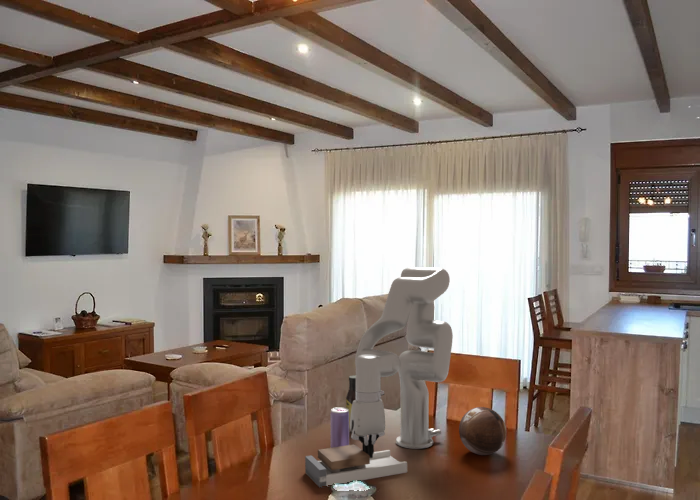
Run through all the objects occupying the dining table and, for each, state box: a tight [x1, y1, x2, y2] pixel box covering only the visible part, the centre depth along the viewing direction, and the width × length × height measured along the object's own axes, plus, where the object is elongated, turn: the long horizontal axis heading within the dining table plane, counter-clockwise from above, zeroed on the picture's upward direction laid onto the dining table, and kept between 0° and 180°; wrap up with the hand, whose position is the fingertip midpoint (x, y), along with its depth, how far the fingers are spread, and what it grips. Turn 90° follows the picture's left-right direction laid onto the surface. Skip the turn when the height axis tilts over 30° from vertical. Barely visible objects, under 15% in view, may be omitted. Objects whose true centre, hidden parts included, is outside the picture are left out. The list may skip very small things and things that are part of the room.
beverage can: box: [330, 406, 350, 448], centre depth 202 cm, size 6×6×15 cm
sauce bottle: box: [345, 374, 356, 433], centre depth 228 cm, size 7×6×20 cm
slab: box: [317, 444, 370, 474], centre depth 186 cm, size 12×11×5 cm
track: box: [304, 449, 408, 488], centre depth 187 cm, size 28×12×5 cm, turn 114°
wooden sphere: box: [458, 406, 507, 456], centre depth 203 cm, size 15×15×15 cm
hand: (368, 456), depth 189 cm, fingers closed
